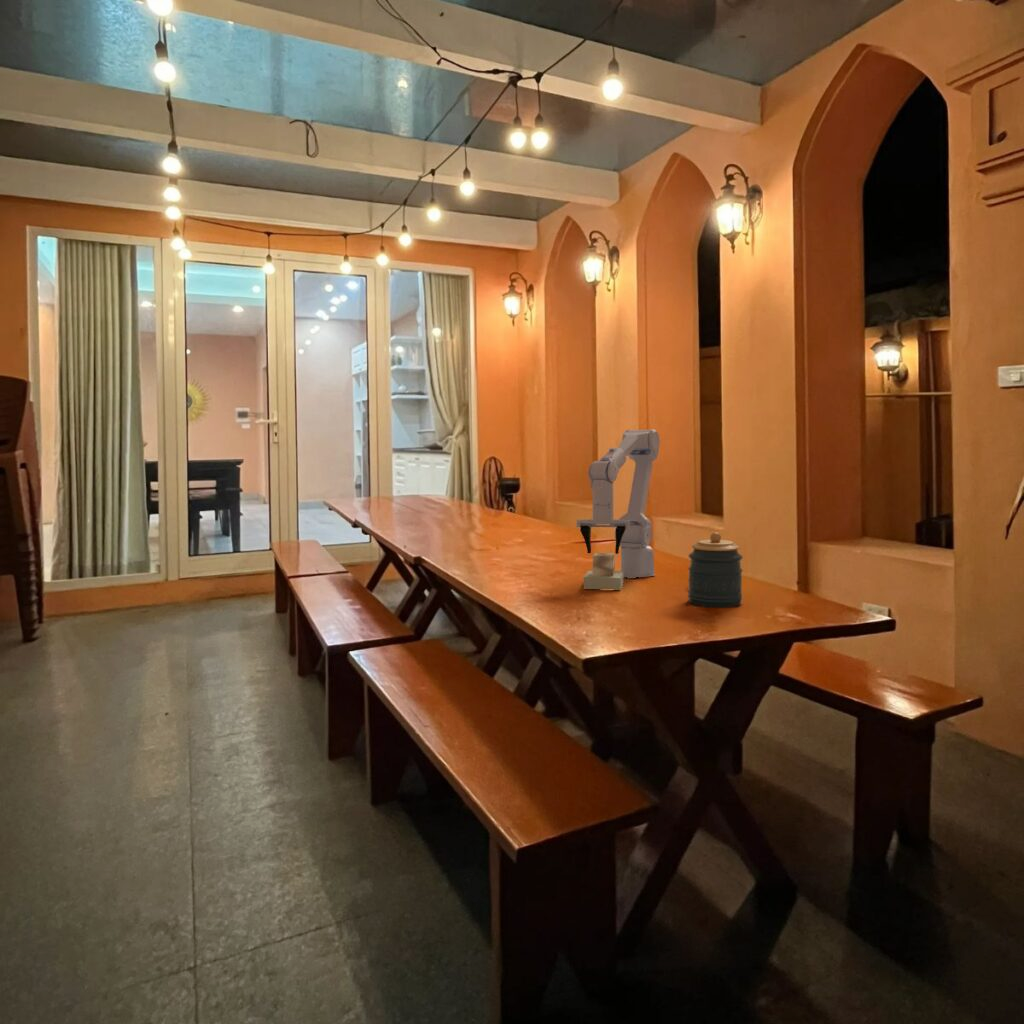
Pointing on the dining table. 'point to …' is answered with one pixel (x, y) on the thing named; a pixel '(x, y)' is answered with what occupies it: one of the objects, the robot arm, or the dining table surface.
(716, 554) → the canister
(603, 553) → the cream cube
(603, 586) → the sage pedestal
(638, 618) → the dining table surface
